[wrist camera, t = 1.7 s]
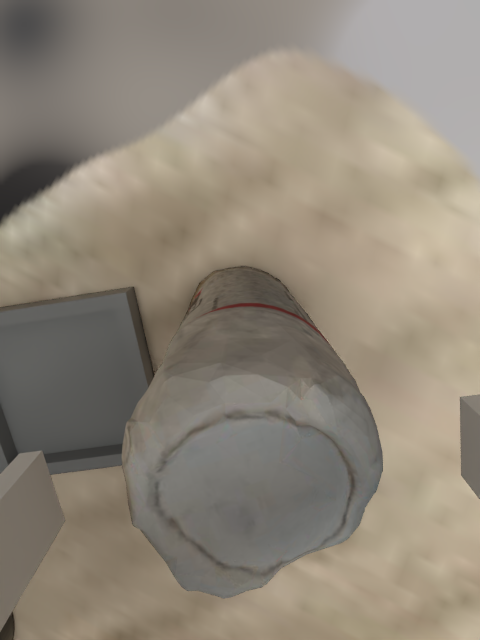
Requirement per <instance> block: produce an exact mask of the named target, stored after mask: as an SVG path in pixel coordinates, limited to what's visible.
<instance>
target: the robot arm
mask: <svg viewBox="0 0 480 640" xmlns="http://www.w3.org/2000/svg"><path fill="white" fill-rule="evenodd" d="M460 433H461V476H462V477H463V478H464V480H465V481H466V482H467V483H468V485H469V486H470V487H471V489H472V490H473V491H474V493H475V494H476V495H477V496H478V498H479V499H480V395H472V396H465V397H460ZM64 522H65V518H64V515H63V512H62V509H61V506H60V503H59V500H58V497H57V494H56V491H55V488H54V485H53V482H52V479H51V476H50V473H49V470H48V467H47V464H46V461H45V458H44V455H43V452H42V451H34V452H26V453H19V454H18V456H17V457H16V458H15V459H14V460H13V461H12V462H11V463H10V464H9V465H8V466H7V467H6V468H5V470H4V471H3V472H2V473H1V474H0V640H12V639H13V633H14V625H13V618H12V614H11V613H12V611H13V609H14V608H15V606H16V604H17V602H18V601H19V599H20V597H21V596H22V594H23V592H24V591H25V589H26V587H27V585H28V584H29V582H30V580H31V579H32V577H33V575H34V573H35V572H36V570H37V568H38V567H39V565H40V563H41V561H42V560H43V558H44V556H45V555H46V553H47V551H48V550H49V548H50V546H51V544H52V543H53V541H54V539H55V538H56V536H57V534H58V532H59V531H60V529H61V527H62V526H63V524H64Z"/></svg>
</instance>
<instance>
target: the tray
mask: <svg viewBox="0 0 480 640" xmlns="http://www.w3.org/2000/svg"><path fill="white" fill-rule="evenodd" d="M153 378H154V373H153V368H152V364H151V360H150V356H149V351H148V347H147V343H146V338H145V334H144V330H143V325H142V321H141V317H140V312H139V308H138V304H137V299H136V295H135V291H134V287H129V288H123V289H116V290H110V291H103V292H97V293H90V294H84V295H78V296H71V297H65V298H58V299H52V300H45V301H39V302H33V303H26V304H20V305H13V306H7V307H0V474H1V473H2V472H3V471H4V470H5V468H6V467H7V466H8V465H9V464H10V463H11V462H12V461H13V460H14V459H15V458H16V457H17V456H18V454H19V453H26V452H34V451H42V452H43V455H44V458H45V461H46V464H47V467H48V470H49V473H50V475H52V474H60V473H68V472H75V471H83V470H91V469H98V468H106V467H114V466H121V465H122V445H123V439H124V433H125V427H126V423H127V421H128V420H129V419H130V418H131V416H132V414H133V412H134V410H135V407H136V405H137V403H138V402H139V400H140V399H141V398H142V396H143V395H144V394H145V392H146V391H147V389H148V388H149V386H150V384H151V382H152V380H153Z"/></svg>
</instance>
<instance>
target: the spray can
mask: <svg viewBox="0 0 480 640" xmlns="http://www.w3.org/2000/svg"><path fill="white" fill-rule="evenodd" d="M122 467H123V471H124V476H125V480H126V485H127V496H128V504H129V509H130V514H131V519H132V524H133V526H135V527H137V528H139V529H140V530H141V531H142V533H143V534H144V535H145V536H146V538H147V539H148V540H149V541H150V543H151V544H152V545H153V547H154V548H155V549H156V550H157V552H158V553H159V554H160V556H161V557H162V558H163V559H164V561H165V562H166V564H167V565H168V567H169V569H170V570H171V572H172V574H173V575H174V577H175V579H176V580H177V582H178V583H179V584H180V585H181V586H182V587H183V588H184V589H185V590H187V591H201V592H204V593H208V594H211V595H215V596H218V597H221V598H230V597H233V596H235V595H238V594H240V593H243V592H245V591H248V590H253V589H257V588H261V587H262V586H264V585H266V584H267V583H268V582H269V581H270V580H271V579H272V577H273V576H274V575H275V574H276V573H277V572H278V571H279V570H280V569H281V568H282V567H284V566H286V565H288V564H290V563H291V562H293V561H295V560H297V559H299V558H301V557H302V556H304V555H306V554H309V553H312V552H315V551H318V550H321V549H324V548H327V547H330V546H334V545H336V544H339V543H342V542H344V541H345V540H347V539H348V538H349V537H350V536H351V534H352V533H353V532H354V531H355V530H356V528H357V527H358V526H359V524H360V521H361V519H362V516H363V513H364V510H365V507H366V506H367V504H368V502H369V501H370V499H371V498H372V496H373V494H374V493H375V492H376V490H377V487H378V484H379V481H380V478H381V474H382V471H383V457H382V449H381V444H380V440H379V435H378V431H377V426H376V423H375V420H374V418H373V415H372V412H371V410H370V407H369V406H368V404H367V402H366V400H365V398H364V396H363V395H362V394H361V393H360V391H359V389H358V386H357V384H356V381H355V379H354V378H353V377H352V376H351V374H350V372H349V371H348V369H347V367H346V365H345V364H344V363H343V361H342V360H341V359H340V358H339V356H338V355H337V354H336V352H335V351H334V350H333V348H332V347H331V345H330V344H329V343H328V341H327V340H326V339H325V338H324V336H323V335H322V334H321V333H320V331H319V330H318V329H317V327H316V326H315V325H314V323H313V321H312V320H311V319H310V318H309V316H308V314H307V313H306V312H305V311H304V309H303V308H302V307H301V306H300V305H299V304H298V303H297V302H296V300H295V299H294V297H293V296H292V295H291V294H290V293H289V291H288V289H287V288H286V286H285V285H283V284H282V283H281V281H280V280H279V279H277V278H274V277H273V276H272V275H269V273H266V272H263V271H260V270H258V269H252V268H251V267H245V266H241V267H235V268H228V269H225V270H220V271H214V272H212V273H211V274H210V275H208V276H207V277H206V278H205V279H204V280H203V281H202V282H200V283H199V285H198V287H197V289H196V292H195V294H194V296H193V298H192V300H191V303H190V307H189V309H188V311H187V313H186V315H185V318H184V319H183V321H182V322H181V325H180V328H179V330H178V331H177V333H176V335H175V336H174V337H173V339H172V340H171V342H170V344H169V347H168V349H167V352H166V355H165V358H164V360H163V363H162V365H161V366H160V367H159V369H158V370H157V372H156V374H155V376H154V378H153V380H152V382H151V384H150V386H149V388H148V389H147V391H146V392H145V394H144V395H143V396H142V398H141V399H140V400H139V402H138V403H137V405H136V407H135V410H134V412H133V414H132V416H131V418H130V419H129V420H128V421H127V423H126V427H125V433H124V439H123V445H122Z"/></svg>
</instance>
